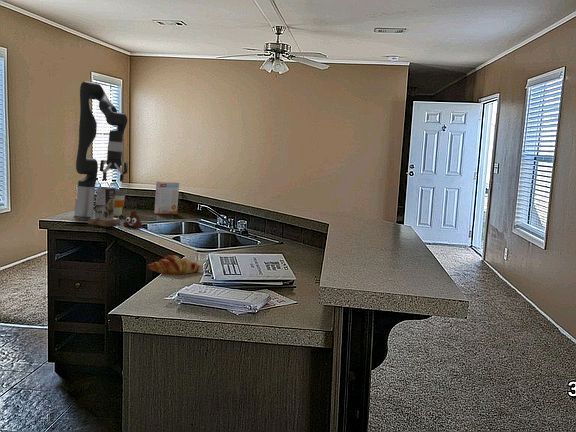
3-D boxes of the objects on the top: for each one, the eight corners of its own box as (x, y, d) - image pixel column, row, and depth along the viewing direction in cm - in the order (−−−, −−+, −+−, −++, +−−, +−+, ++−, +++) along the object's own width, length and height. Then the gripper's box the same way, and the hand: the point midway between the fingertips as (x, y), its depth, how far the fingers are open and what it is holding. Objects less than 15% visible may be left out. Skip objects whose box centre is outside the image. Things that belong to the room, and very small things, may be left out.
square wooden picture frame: (87, 223, 316) (88, 217, 315) (99, 221, 327) (99, 215, 327) (108, 226, 313) (109, 220, 313) (119, 224, 325) (120, 218, 325)
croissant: (198, 279, 233) (197, 259, 236) (207, 272, 225) (206, 252, 228) (144, 278, 223) (143, 258, 226) (152, 271, 215) (151, 250, 218)
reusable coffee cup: (98, 213, 358) (99, 188, 356) (115, 212, 368) (116, 188, 366) (111, 216, 351) (113, 191, 349) (128, 215, 361) (130, 191, 359)
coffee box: (105, 219, 315) (107, 189, 313) (94, 218, 316) (96, 187, 314) (113, 217, 324) (116, 188, 322) (103, 216, 325) (105, 187, 323)
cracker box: (172, 213, 394) (174, 181, 392) (177, 214, 390) (179, 182, 387) (153, 213, 384) (156, 180, 382) (158, 214, 380) (160, 181, 378)
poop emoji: (144, 226, 326) (145, 210, 325) (138, 228, 317) (140, 211, 316) (126, 224, 327) (127, 207, 325) (120, 226, 318) (122, 209, 317)
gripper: (99, 149, 314) (97, 179, 316) (126, 151, 314) (124, 182, 316) (103, 149, 321) (101, 179, 323) (130, 151, 321) (128, 181, 323)
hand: (112, 180), depth 319 cm, fingers open, 8 cm apart
